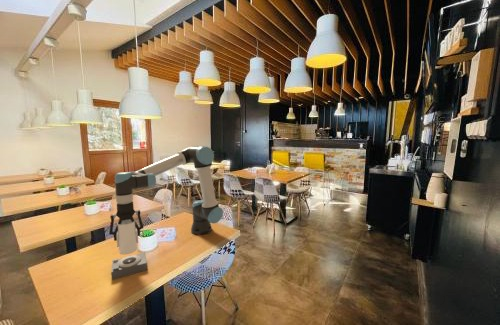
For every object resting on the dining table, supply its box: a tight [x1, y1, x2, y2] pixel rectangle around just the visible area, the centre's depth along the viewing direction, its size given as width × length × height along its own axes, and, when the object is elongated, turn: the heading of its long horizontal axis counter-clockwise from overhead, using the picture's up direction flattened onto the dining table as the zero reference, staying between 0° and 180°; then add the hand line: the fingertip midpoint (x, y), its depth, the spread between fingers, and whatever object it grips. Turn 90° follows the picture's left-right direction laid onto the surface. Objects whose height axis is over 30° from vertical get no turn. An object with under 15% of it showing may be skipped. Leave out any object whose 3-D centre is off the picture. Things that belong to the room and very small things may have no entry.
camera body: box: [110, 252, 148, 281], centre depth 116 cm, size 16×12×5 cm
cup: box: [116, 218, 138, 256], centre depth 115 cm, size 8×8×16 cm
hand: (127, 243), depth 115 cm, fingers closed on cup, 8 cm apart
